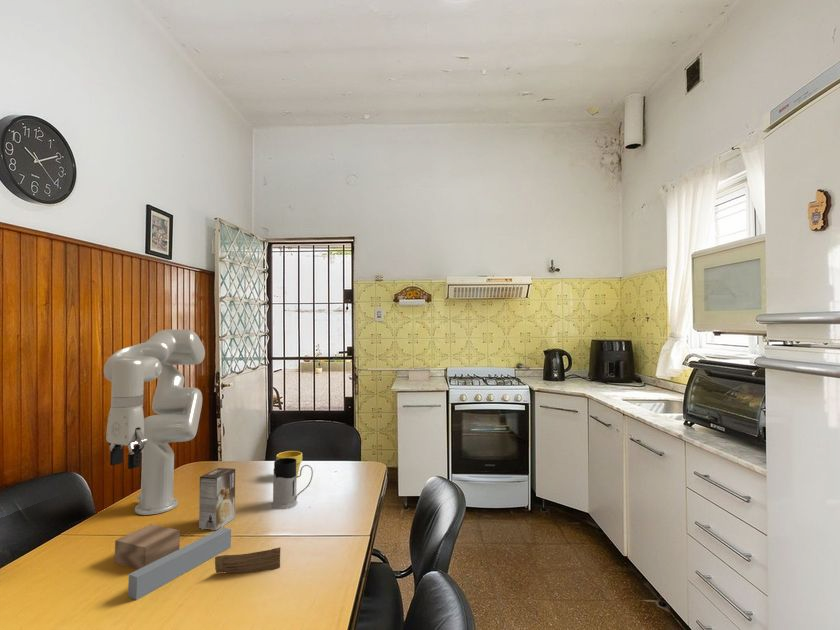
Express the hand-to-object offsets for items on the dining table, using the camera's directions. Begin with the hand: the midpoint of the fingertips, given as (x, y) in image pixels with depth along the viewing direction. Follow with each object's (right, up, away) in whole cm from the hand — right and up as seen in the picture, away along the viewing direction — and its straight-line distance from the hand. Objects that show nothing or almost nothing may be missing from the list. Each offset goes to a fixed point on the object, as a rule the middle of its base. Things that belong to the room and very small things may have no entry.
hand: (125, 465), depth 120 cm
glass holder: (+38, -24, +30) cm, 54 cm away
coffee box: (+19, -24, +14) cm, 34 cm away
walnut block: (+10, -23, -6) cm, 26 cm away
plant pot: (+28, -26, +57) cm, 69 cm away
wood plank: (+40, -23, -12) cm, 47 cm away
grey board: (+23, -22, -12) cm, 34 cm away
